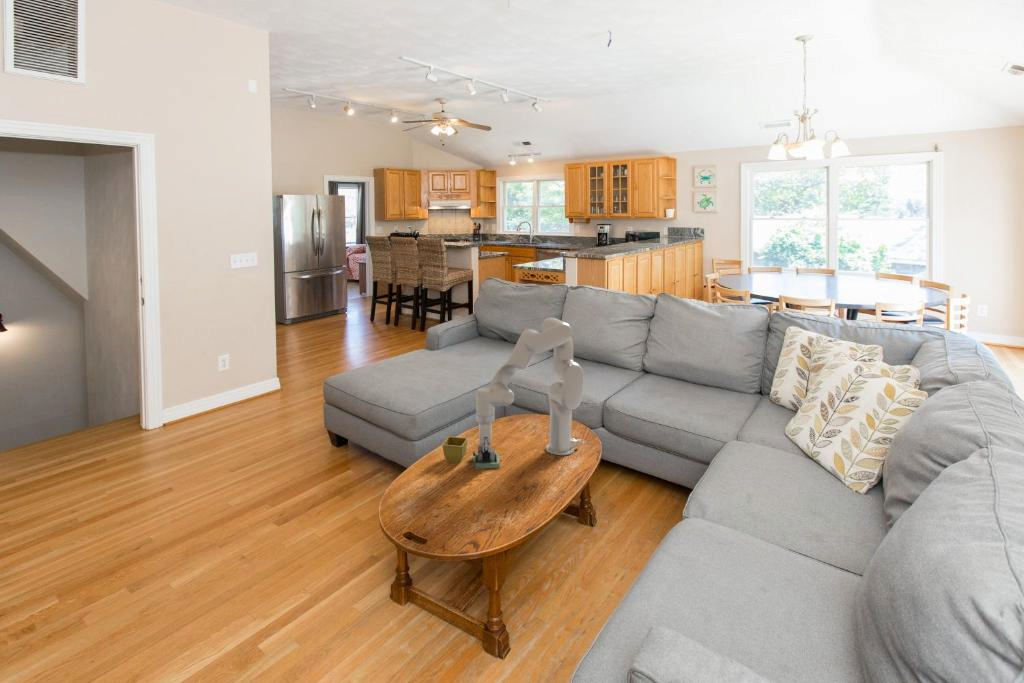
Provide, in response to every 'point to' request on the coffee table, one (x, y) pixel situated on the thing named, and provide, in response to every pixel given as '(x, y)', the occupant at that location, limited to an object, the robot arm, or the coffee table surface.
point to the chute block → (492, 455)
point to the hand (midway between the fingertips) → (485, 455)
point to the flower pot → (454, 449)
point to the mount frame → (485, 465)
